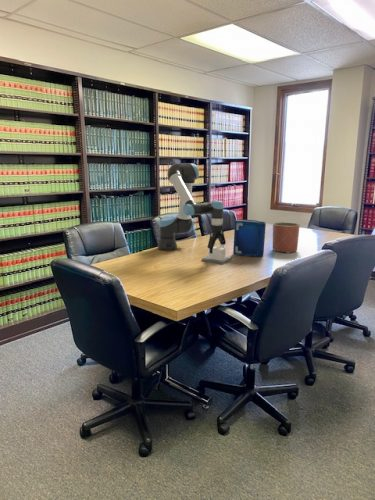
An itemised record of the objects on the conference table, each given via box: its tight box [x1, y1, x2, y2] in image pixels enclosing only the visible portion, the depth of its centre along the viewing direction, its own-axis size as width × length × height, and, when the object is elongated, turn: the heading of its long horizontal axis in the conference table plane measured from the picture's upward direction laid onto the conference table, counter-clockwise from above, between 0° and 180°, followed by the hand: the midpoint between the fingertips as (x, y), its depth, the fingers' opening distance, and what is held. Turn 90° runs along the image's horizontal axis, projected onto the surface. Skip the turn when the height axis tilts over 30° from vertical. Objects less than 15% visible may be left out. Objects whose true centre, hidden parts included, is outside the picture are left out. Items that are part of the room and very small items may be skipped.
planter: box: [272, 221, 300, 254], centre depth 273 cm, size 19×19×20 cm
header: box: [201, 255, 232, 265], centre depth 247 cm, size 16×12×5 cm
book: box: [232, 219, 267, 258], centre depth 258 cm, size 22×7×25 cm, turn 71°
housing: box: [208, 246, 226, 260], centre depth 246 cm, size 10×6×7 cm, turn 56°
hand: (216, 255), depth 247 cm, fingers open, 13 cm apart
